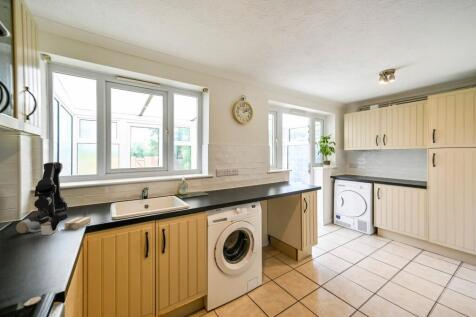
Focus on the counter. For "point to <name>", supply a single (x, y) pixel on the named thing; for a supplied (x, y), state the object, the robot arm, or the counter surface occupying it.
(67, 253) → the counter surface
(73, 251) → the counter surface
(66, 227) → the oak block
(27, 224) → the ceramic mug
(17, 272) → the counter surface
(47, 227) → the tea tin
